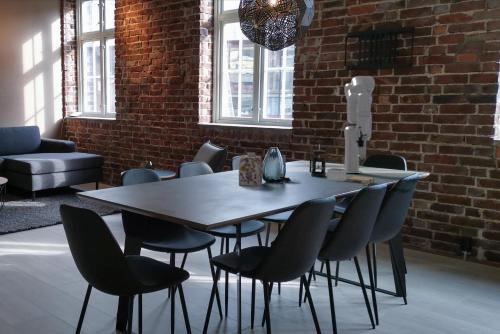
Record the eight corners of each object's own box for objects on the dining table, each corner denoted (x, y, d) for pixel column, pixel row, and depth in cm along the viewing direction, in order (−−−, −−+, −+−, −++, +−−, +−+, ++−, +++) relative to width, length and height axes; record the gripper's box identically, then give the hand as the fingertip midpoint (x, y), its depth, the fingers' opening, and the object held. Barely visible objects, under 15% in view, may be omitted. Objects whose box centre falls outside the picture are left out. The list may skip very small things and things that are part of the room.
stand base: (331, 178, 314) (331, 167, 313) (349, 180, 308) (350, 169, 307) (323, 181, 304) (323, 169, 303) (342, 183, 297) (342, 171, 297)
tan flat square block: (354, 181, 306) (354, 176, 306) (374, 182, 300) (374, 177, 299) (347, 183, 296) (347, 178, 295) (367, 185, 290) (367, 180, 289)
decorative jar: (258, 186, 280) (259, 154, 278) (238, 185, 282) (238, 153, 280) (262, 183, 292) (263, 152, 289) (242, 182, 294) (243, 151, 292)
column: (359, 158, 300) (360, 133, 298) (367, 158, 297) (368, 133, 295) (356, 158, 295) (357, 133, 294) (364, 159, 293) (365, 134, 291)
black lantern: (329, 178, 318) (331, 141, 315) (321, 179, 311) (322, 141, 308) (314, 176, 326) (315, 140, 323) (305, 177, 319) (306, 140, 316)
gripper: (362, 114, 302) (360, 145, 304) (352, 114, 288) (350, 147, 290) (374, 114, 298) (373, 146, 301) (364, 115, 284) (363, 147, 286)
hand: (362, 146), depth 295 cm, fingers closed on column, 4 cm apart
